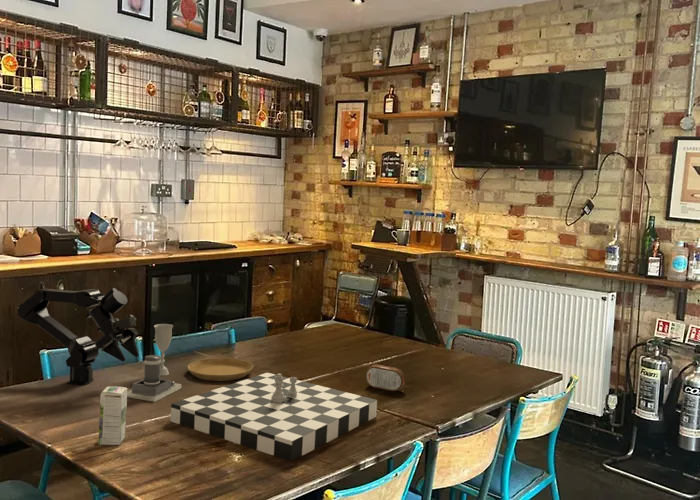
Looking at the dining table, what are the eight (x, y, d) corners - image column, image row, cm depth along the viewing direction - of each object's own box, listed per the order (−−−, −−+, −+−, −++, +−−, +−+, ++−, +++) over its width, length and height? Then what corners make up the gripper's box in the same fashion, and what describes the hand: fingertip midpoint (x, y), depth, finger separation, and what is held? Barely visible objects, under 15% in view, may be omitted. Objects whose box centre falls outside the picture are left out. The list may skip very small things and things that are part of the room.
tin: (404, 391, 240) (406, 369, 239) (401, 393, 237) (403, 370, 236) (367, 384, 246) (368, 362, 245) (363, 386, 243) (365, 364, 242)
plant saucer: (174, 376, 242) (174, 368, 242) (211, 362, 265) (211, 354, 264) (230, 387, 233) (230, 378, 233) (264, 371, 256) (264, 363, 255)
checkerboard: (291, 463, 173) (294, 408, 172) (170, 423, 197) (172, 374, 196) (376, 418, 212) (378, 373, 210) (266, 389, 235) (268, 348, 234)
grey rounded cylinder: (143, 391, 217) (144, 359, 217) (143, 387, 222) (144, 355, 222) (159, 391, 219) (161, 358, 218) (159, 386, 224) (160, 355, 223)
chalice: (165, 377, 240) (167, 328, 238) (148, 375, 241) (150, 326, 240) (175, 372, 247) (176, 324, 246) (158, 370, 249) (159, 323, 247)
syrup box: (104, 437, 182) (105, 385, 181) (126, 437, 183) (127, 386, 181) (98, 445, 176) (99, 392, 175) (120, 445, 177) (122, 392, 176)
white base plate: (125, 396, 216) (125, 384, 216) (153, 383, 232) (153, 372, 231) (154, 401, 213) (154, 389, 213) (181, 388, 228) (181, 377, 228)
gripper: (108, 309, 214) (135, 348, 213) (136, 305, 233) (161, 341, 231) (83, 329, 216) (109, 368, 214) (112, 323, 234) (137, 359, 233)
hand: (131, 358), depth 223 cm, fingers open, 9 cm apart
